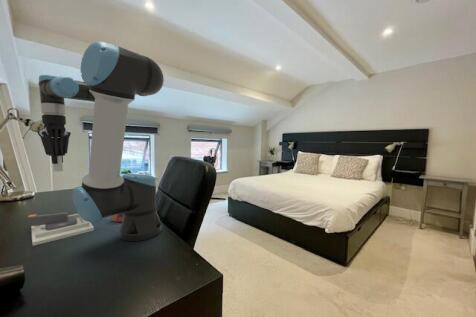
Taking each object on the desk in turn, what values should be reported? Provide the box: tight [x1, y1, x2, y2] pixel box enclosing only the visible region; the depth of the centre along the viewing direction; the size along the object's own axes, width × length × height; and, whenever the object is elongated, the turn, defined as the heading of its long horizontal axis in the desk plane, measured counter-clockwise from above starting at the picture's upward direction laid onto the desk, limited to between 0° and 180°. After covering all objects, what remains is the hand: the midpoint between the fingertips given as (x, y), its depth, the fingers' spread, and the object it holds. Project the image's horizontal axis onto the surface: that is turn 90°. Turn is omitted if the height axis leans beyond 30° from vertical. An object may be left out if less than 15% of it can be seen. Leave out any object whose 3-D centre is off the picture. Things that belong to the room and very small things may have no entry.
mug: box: [110, 212, 124, 223], centre depth 99 cm, size 12×9×11 cm
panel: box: [30, 213, 95, 247], centre depth 88 cm, size 22×18×3 cm
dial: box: [27, 211, 77, 230], centre depth 87 cm, size 15×10×6 cm, turn 114°
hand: (58, 171), depth 91 cm, fingers closed
